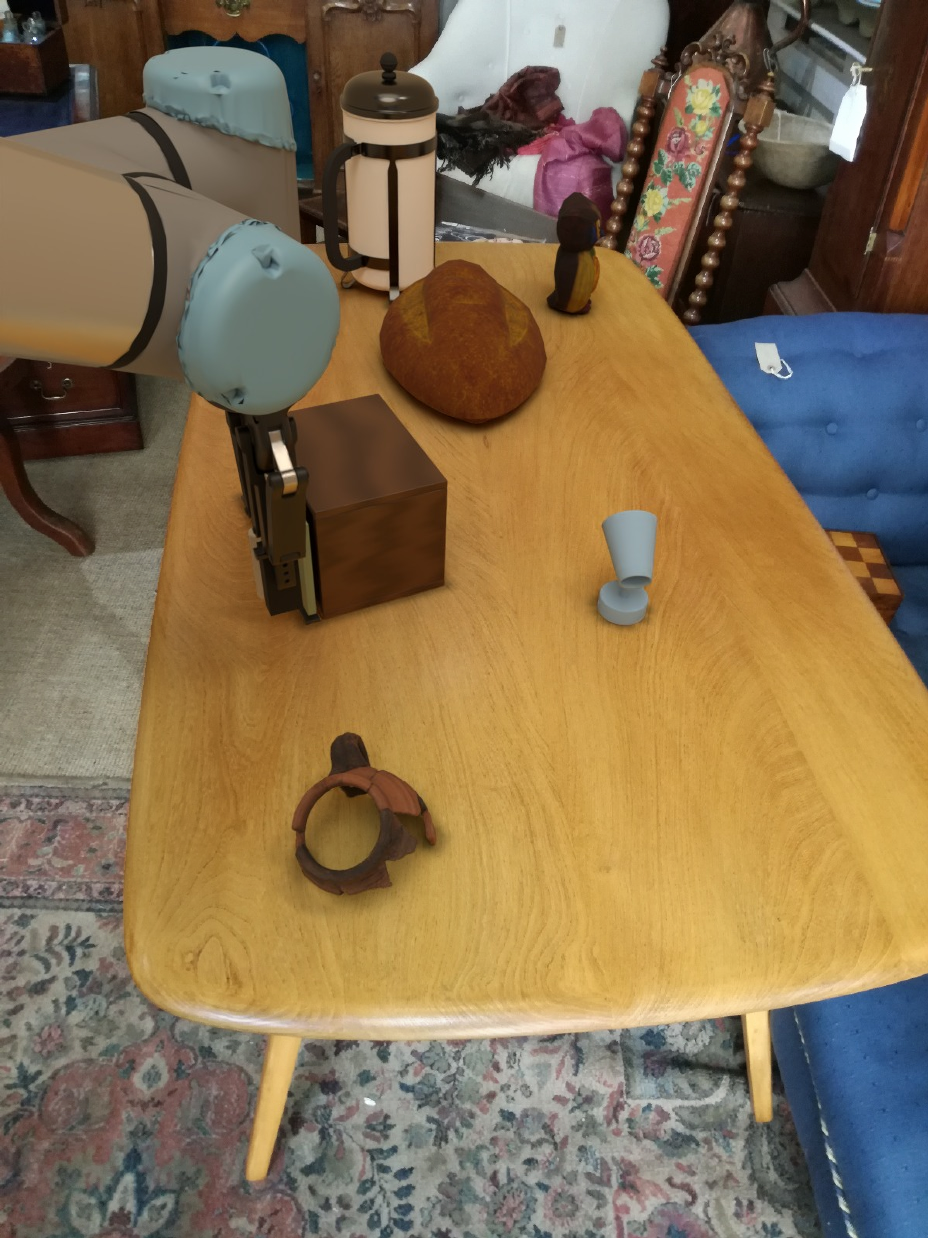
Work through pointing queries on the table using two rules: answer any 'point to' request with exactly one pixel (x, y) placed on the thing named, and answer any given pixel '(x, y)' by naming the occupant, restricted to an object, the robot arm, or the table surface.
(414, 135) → the coffee press
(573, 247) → the figurine
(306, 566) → the sliding door
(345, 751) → the broken clay pot
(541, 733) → the table surface
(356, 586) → the cupboard
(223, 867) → the table surface
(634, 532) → the spotlight
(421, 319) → the bread
